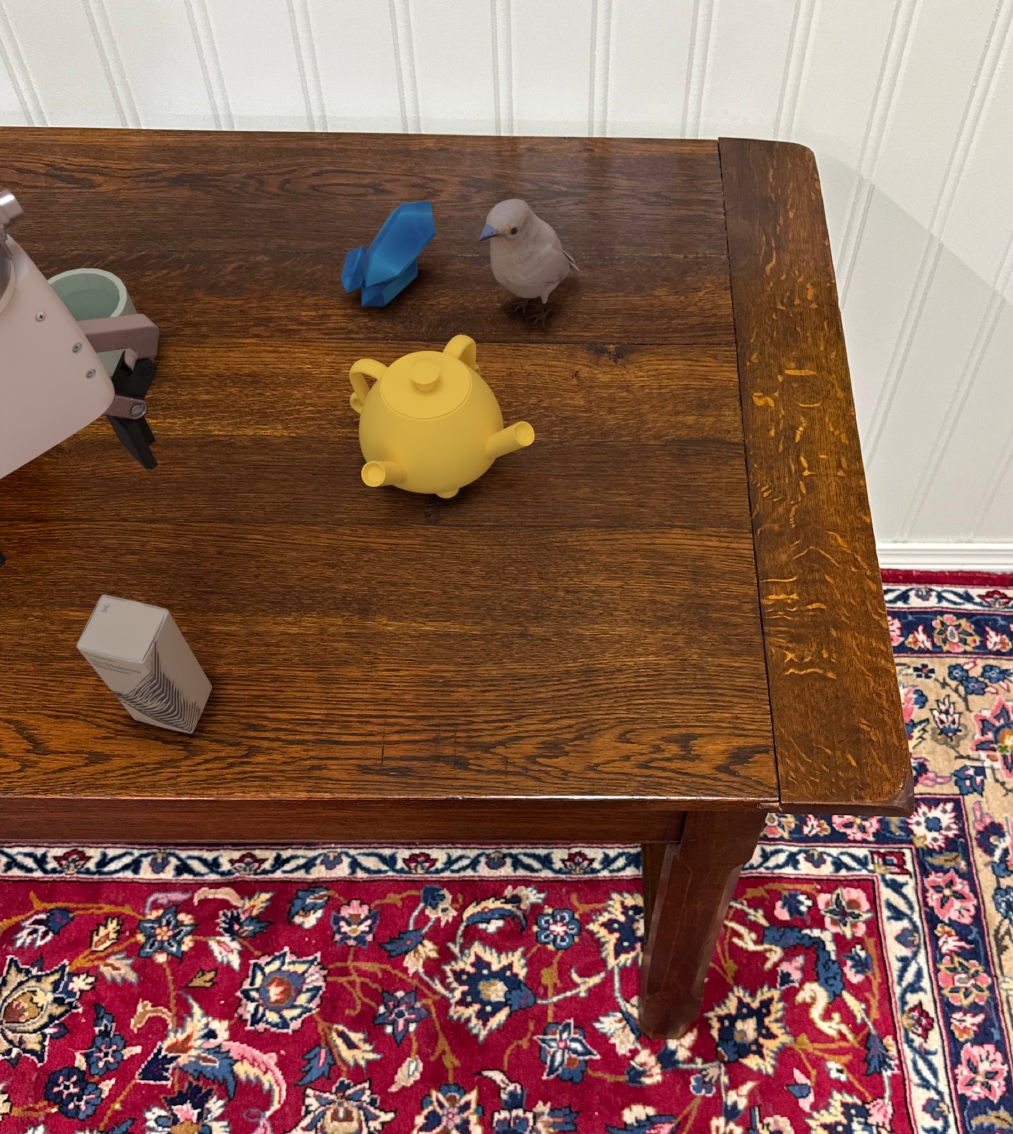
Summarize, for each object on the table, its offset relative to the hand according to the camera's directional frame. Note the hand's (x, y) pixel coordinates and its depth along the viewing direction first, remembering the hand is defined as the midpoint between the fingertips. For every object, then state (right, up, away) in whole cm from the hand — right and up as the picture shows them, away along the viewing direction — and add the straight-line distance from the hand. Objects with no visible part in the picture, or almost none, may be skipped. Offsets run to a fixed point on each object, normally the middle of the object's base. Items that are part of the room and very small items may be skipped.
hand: (67, 500), depth 56 cm
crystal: (+14, +25, +44) cm, 52 cm away
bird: (+27, +21, +42) cm, 54 cm away
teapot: (+19, +5, +32) cm, 38 cm away
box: (-1, -15, +21) cm, 25 cm away
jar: (-13, +16, +39) cm, 44 cm away
